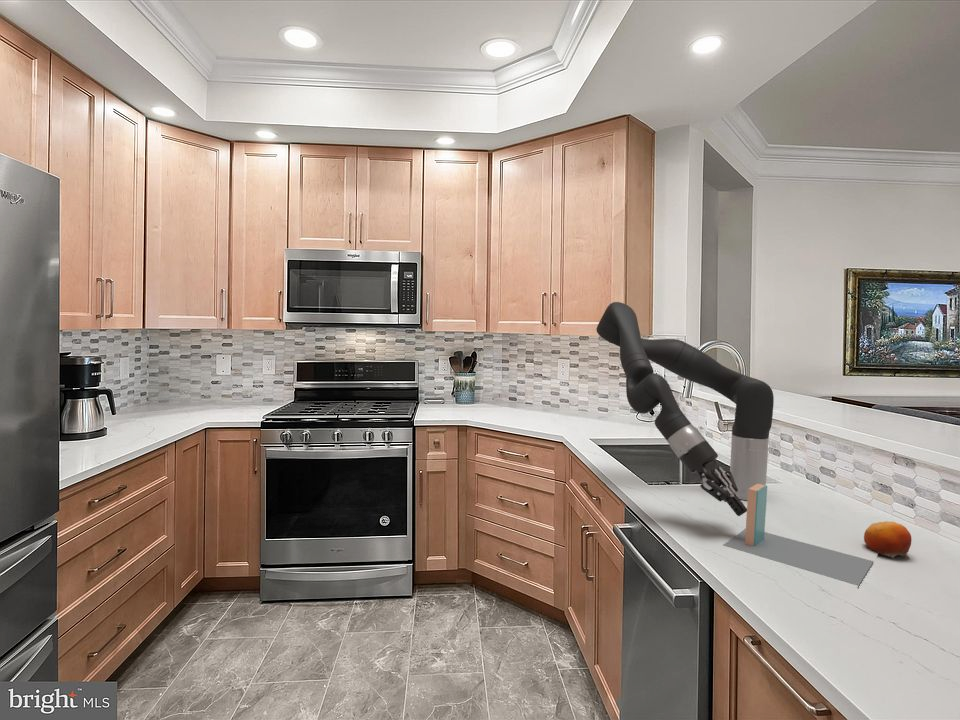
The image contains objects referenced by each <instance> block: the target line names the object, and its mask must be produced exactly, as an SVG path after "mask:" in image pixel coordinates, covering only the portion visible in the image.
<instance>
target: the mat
mask: <svg viewBox="0 0 960 720" xmlns="http://www.w3.org/2000/svg"><path fill="white" fill-rule="evenodd" d="M745 535H746V528H744V529H743V530H742V531H740V532H739V533H737V534H736V535H735V536H733V537H731V539H729V540H727V542H725V543H724V544H722V546H725V547H727V548H731V549H734V550H737V551H740V552H744V553H748V554H749V555H750V554H751V555H754V556H756V557H757V556H758V557H760V558H764V559H768V560H771V561H775V562H778V563H781V564H784V565H788V566H791V567H794V568H798V569H799V570H800V569H801V570H804V571H808V572H811V573H813V574H814V573H815V574H818V575H820V576H825V577H828V578H831V579H834V580H837V581H841V582H844V583H848V584H852V585H854V586H856V587H857V588H858V589H859V588H860V587H861V585H862V584H861V583H863V582H864V580H865V579H864V578H866V577H867V575H868V574H867V573H869V572H870V570H871V569H872V567H873V565H874V560H871V559H866V558H863V557H859V556H855V555H853V554H849V553H848V554H847V553H845V552H844V553H843V552H840V551H837V550H834V549H833V550H832V549H829V548H825V547H822V546H818V545H814V544H810V543H807V542H804V541H799V540H795V539H791V538H788V537H784V536H781V535H776V534H772V533H771V532H766V531H765V533H764V539H763V540H762V541H761V542H760V543H759V544H757V545H756V546H752V545H748V544H745ZM870 568H871V569H870ZM868 571H869V572H868ZM865 576H866V577H865ZM863 579H864V580H863ZM862 581H863V582H862ZM860 584H861V585H860ZM859 586H860V587H859Z"/></svg>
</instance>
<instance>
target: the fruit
mask: <svg viewBox="0 0 960 720" xmlns="http://www.w3.org/2000/svg"><path fill="white" fill-rule="evenodd" d="M863 542H864V543H865V544H866V546H867V547H868V549H870V550H871V551H873V552H874V553H875V552H876V553H877V554H878V555H879V556H885V557H889V558H891V559H895V557H896V556H902V557H906V558H907V559H909V560H910V559H911V558H910V557H909V556H908V553H909V552H910V548H911V547H912V534H911V532H910V531H909V530H908V528H907V527H906V526H904V525H903V524H901V523H898V522H895V521H879V522H874V523H871V524H870V525H869V526H868V527H867V528H866V529H865V531H864V533H863Z"/></svg>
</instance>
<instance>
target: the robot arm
mask: <svg viewBox="0 0 960 720" xmlns="http://www.w3.org/2000/svg"><path fill="white" fill-rule="evenodd" d="M595 330H596V333H597V335H598V336H600V338H602V339H603V340H604V341H607V342H608V343H611V344H613V345H615V346H617V347H619V359H620V364H621V367H622V370H623V373H624V375H625V377H626V379H625V386H626V387H625V388H626V389H625V390H626V391H625V392H626V393H625V394H626V399H627V402H628V404H629V405H630V407H631V408H632V410H633V411H635V412H636V413H639V414H644V415H645V414H648V413H650V412H652V410H654V409H655V408H657V406H658V405H659V404H660V406H661V410H660V412H659V413H658V414H657V416H656V417H655V419H654V426H655V428H657V430H658V431H659V433H660V434H661V435H662V437H663V438H664V439H665V440H666V442H667V444H668V445H669V446H670V449H671V450H672V451H673V452H674V454H675V455H676V456H677V458H678V459H679V461H681V463H682V464H683V466H684V467H685V468H686V469H687V470H688V472H689V473H690V474H697V475H698V477H699V479H701V480H702V483H701V484H700V488H701V489H702V490H703V491H704V492H706V493H707V494H709V495H710V496H712V497H713V498H714V499H716V500H717V501H719V502H720V503H721V502H722V501H723V502H724V503H727V504H728V505H729V507H730V508H731V510H732V511H733V512H734V514H735V515H736V516H737V517H741V516H742V515H744V514H745V513H747V506H745V504H744V503H743V502H742V500H743V501H747V500H748V489H749V488H751V487H752V486H754V485H756V484H762V485H767V474H768V473H767V472H768V471H767V470H768V457H769V456H768V455H769V440H770V439H769V438H770V431H771V429H772V424H773V416H774V415H773V412H774V405H775V404H774V402H775V401H774V400H775V398H774V397H775V396H774V393H773V392H774V391H773V389H772V388H771V386H769V384H767V382H764V381H763V380H760V379H757V378H754V377H751V376H748V375H745V374H742V373H740V372H738V371H735V370H733V369H730V368H728V367H726V366H724V365H723V364H721V363H720V362H719V361H717V360H715V359H714V358H713V357H711V356H710V355H708V354H707V353H705V352H704V351H702V350H700V349H699V348H697V347H695V346H694V345H691V344H690V343H689V344H688V342H684V341H683V340H681V339H676V338H660V339H659V338H658V339H655V338H654V339H649V338H647V339H646V338H642V337H641V332H640V327H639V322H638V317H637V314H636V312H635V310H634V309H633V308H632V307H631V306H629V305H627V304H625V303H623V302H621V301H613V302H611V303H609V305H608V306H607V307H606V308H605V310H604V312H603V314H602V316H601V318H600V320H599V322H598V324H597V326H596V329H595ZM650 361H651V362H652V363H655V364H656V365H659V366H660V367H662V368H664V369H666V370H667V371H669V372H671V373H673V374H675V375H677V376H679V377H680V378H683V379H685V380H687V381H690V382H692V383H695V384H697V385H701V386H704V387H707V388H709V389H711V390H713V391H714V392H717V393H719V394H721V395H722V396H723V397H725V398H727V399H729V400H730V401H731V402H733V403H734V404H735V414H734V421H733V424H732V427H731V445H730V446H731V447H730V463H729V466H730V467H729V469H728V470H726V471H724V469H723V468H722V466H721V465H719V464H718V463H717V461H716V459H718V457H719V454H718V452H716V451H715V449H714V448H713V446H711V444H710V443H709V442H708V440H707V439H706V438H705V437H704V435H702V433H701V431H699V429H697V428H696V427H695V425H693V424H692V423H691V422H690V420H689V419H688V417H687V416H686V415H685V414H684V412H683V411H682V410H681V408H680V406H679V404H678V402H677V400H676V398H675V396H674V393H673V390H672V388H671V386H670V385H669V383H668V381H667V380H666V379H665V377H664V376H662V375H661V374H658V373H654V368H653V366H652V363H651V362H650Z"/></svg>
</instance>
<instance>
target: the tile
mask: <svg viewBox="0 0 960 720" xmlns="http://www.w3.org/2000/svg"><path fill="white" fill-rule="evenodd" d="M767 495H768V485H767V484H766V485H762V484H756V485H754V486H752V487H751V488H749V489H748V500H746V502H747V506H746V508H747V512H746V518H745V519H746V520H745V521H746V522H745V529H746V535H745V544H748V545H752V546H756V545H757V544H759V543H760V542H761V541H762V540H763V539H764V533H765V532H766V530H765V528H766V516H767V515H766V513H767V512H766V511H767V497H768V496H767Z"/></svg>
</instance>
